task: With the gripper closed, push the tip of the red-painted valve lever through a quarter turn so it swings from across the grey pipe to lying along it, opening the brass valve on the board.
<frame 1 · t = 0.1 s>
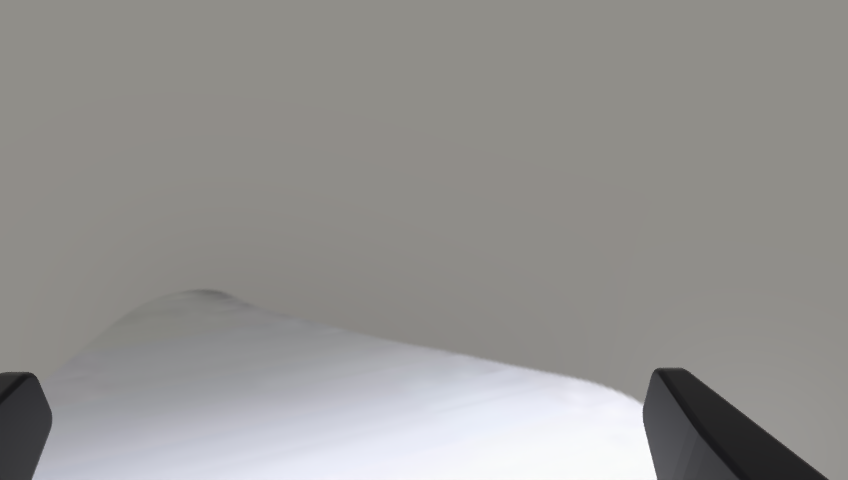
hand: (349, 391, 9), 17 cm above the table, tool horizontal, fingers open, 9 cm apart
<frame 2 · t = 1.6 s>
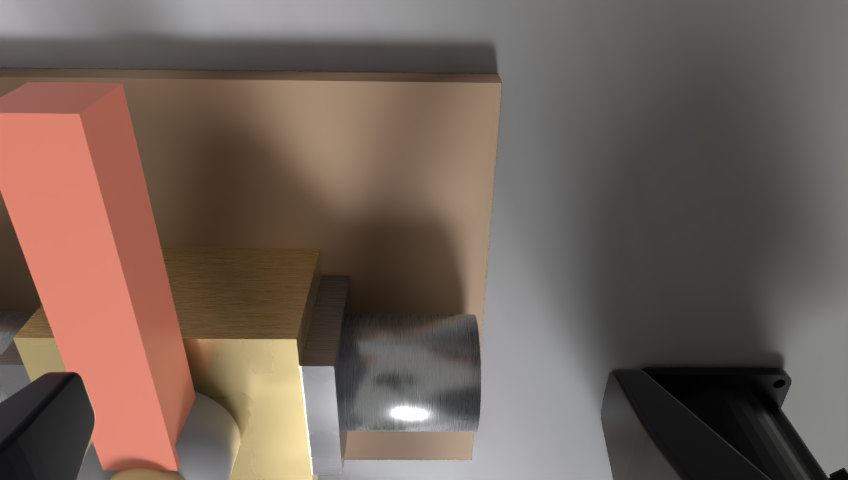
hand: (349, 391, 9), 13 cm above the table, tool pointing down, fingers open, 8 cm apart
board: (224, 289, 24), on the table
lever: (124, 348, 16), point 8 cm above the table, hinge at 0.0°
valve: (228, 309, 25), resting on board
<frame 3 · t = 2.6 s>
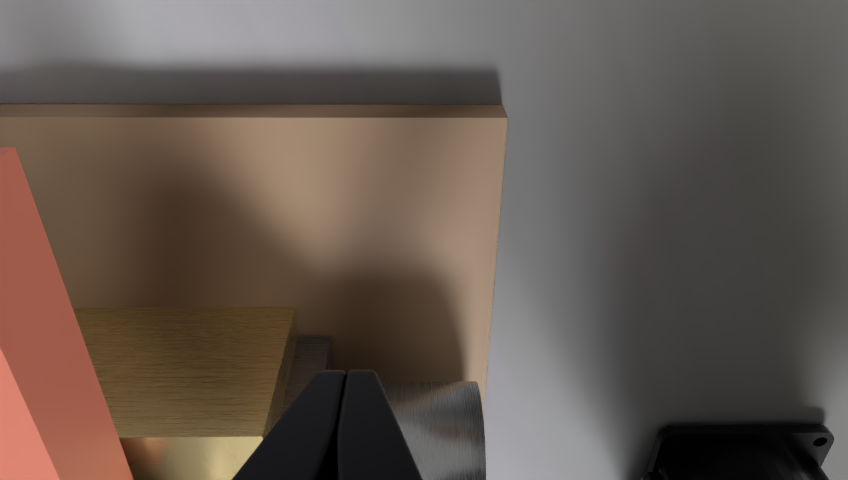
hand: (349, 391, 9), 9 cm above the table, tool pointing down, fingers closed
board: (188, 348, 21), on the table
lever: (42, 466, 13), point 8 cm above the table, hinge at 0.0°
valve: (193, 370, 21), resting on board
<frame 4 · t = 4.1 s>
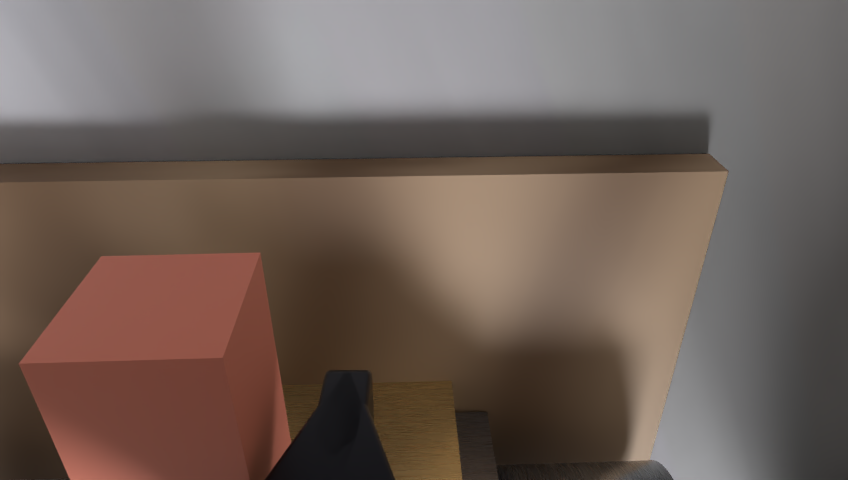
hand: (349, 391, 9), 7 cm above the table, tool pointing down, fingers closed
board: (313, 422, 19), on the table
valve: (316, 445, 19), resting on board
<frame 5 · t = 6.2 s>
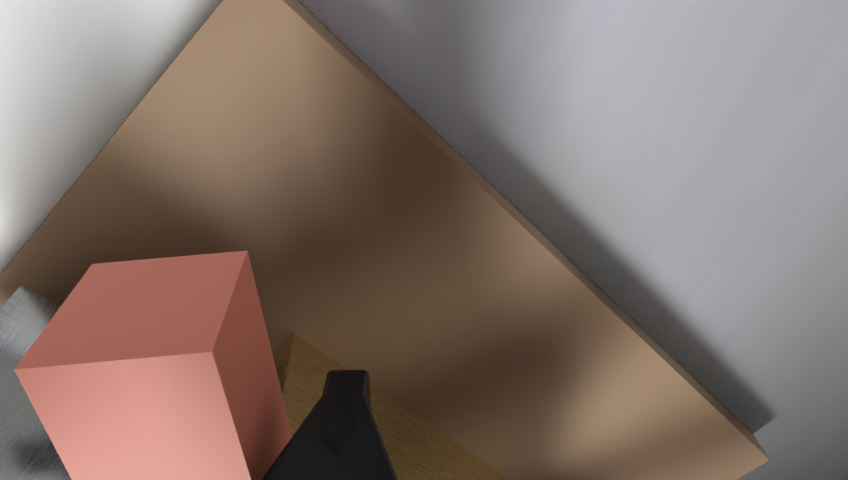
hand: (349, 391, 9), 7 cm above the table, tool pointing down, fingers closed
board: (347, 430, 19), on the table
valve: (326, 447, 19), resting on board
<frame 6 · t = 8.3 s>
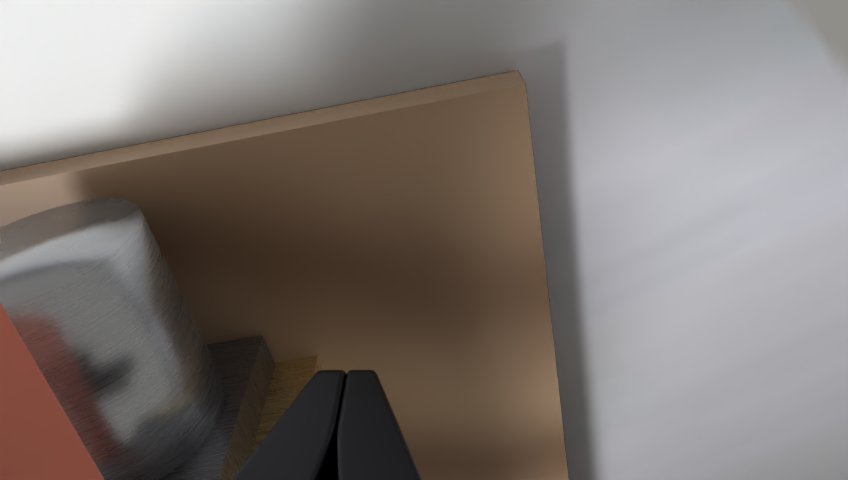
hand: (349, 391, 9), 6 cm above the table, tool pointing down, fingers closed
board: (278, 444, 19), on the table
valve: (247, 449, 19), resting on board
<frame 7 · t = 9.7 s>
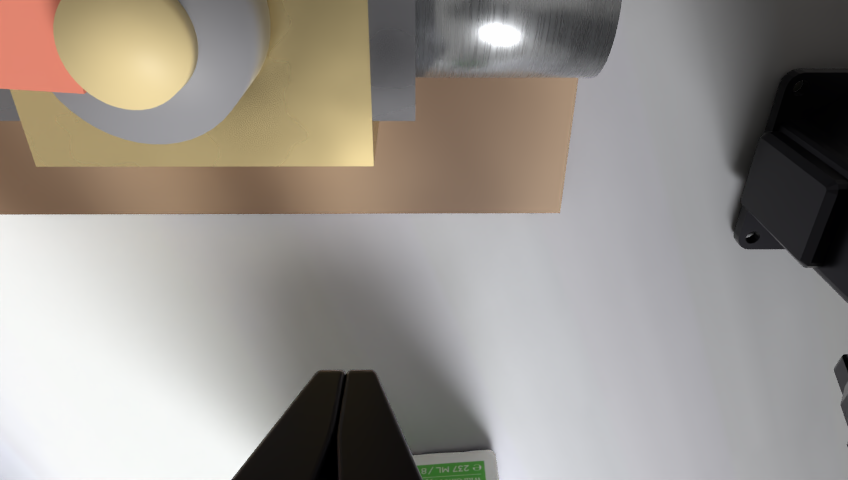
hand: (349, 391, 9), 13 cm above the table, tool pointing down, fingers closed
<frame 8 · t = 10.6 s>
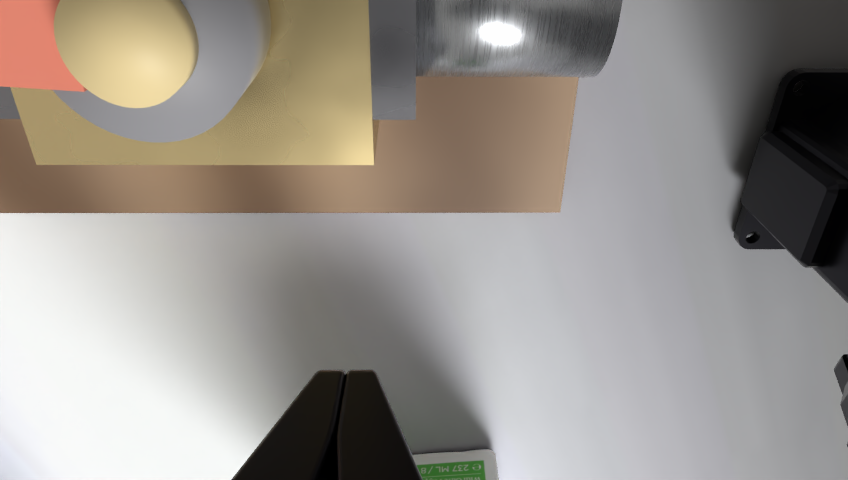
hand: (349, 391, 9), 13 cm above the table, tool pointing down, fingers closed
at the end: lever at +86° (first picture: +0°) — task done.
